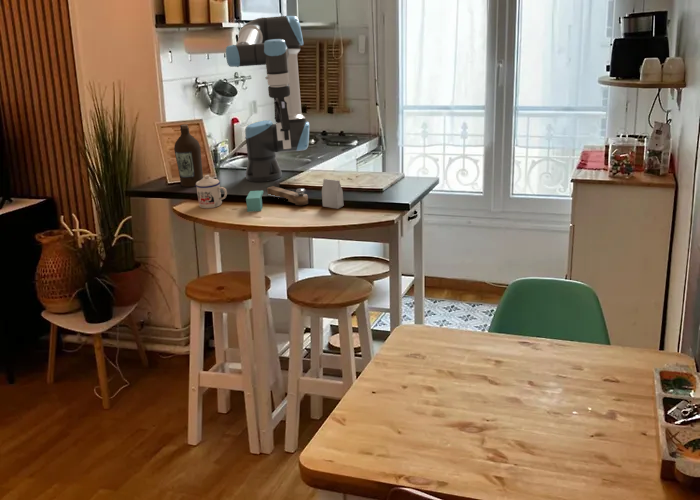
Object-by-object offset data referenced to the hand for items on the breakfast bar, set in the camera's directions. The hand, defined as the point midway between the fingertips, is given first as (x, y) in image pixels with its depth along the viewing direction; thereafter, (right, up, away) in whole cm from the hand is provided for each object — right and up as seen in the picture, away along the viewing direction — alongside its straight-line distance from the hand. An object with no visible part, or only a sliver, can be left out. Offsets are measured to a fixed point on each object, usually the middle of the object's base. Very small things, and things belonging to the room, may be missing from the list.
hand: (284, 144), depth 271 cm
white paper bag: (+18, -22, +4) cm, 29 cm away
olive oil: (-43, -11, +44) cm, 62 cm away
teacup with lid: (-28, -21, +14) cm, 38 cm away
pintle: (+6, -18, +7) cm, 20 cm away
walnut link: (0, -19, +14) cm, 24 cm away
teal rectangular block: (-11, -23, +8) cm, 26 cm away
